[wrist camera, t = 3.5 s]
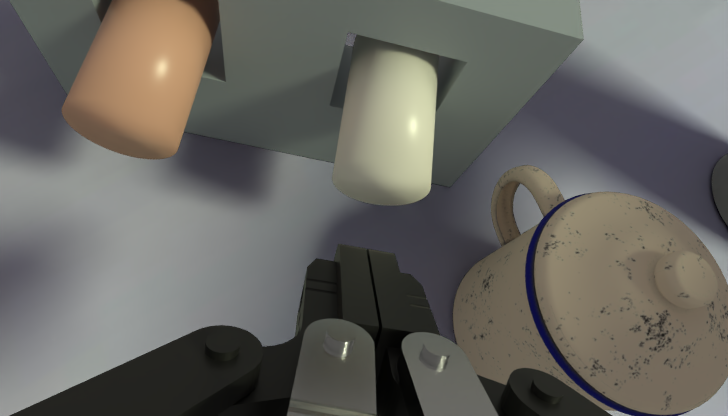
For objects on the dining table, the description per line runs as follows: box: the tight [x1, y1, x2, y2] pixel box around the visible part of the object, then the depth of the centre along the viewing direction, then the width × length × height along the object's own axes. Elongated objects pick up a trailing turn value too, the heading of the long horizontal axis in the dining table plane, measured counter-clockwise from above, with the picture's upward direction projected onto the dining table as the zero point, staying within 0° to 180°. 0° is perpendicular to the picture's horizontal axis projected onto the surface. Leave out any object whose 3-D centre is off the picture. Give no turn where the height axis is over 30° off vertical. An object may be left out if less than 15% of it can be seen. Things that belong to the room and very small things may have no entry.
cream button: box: [332, 35, 439, 206], centre depth 20 cm, size 7×4×4 cm, turn 173°
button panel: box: [9, 0, 584, 187], centre depth 22 cm, size 4×22×13 cm, turn 83°
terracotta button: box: [62, 0, 220, 159], centre depth 19 cm, size 7×4×4 cm, turn 173°
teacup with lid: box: [453, 165, 728, 416], centre depth 21 cm, size 12×9×12 cm
